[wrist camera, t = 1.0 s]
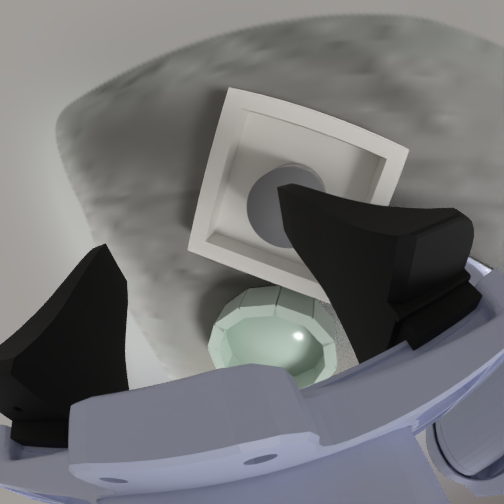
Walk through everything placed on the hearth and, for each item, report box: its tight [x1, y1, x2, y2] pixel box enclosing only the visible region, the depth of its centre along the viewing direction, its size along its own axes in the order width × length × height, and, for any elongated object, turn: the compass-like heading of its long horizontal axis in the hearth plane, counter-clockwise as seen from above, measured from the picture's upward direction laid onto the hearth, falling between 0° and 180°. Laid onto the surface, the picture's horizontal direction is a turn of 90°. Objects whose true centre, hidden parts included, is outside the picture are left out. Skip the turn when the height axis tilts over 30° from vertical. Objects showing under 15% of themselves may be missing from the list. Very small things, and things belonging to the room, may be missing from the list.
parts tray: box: [188, 87, 409, 304], centre depth 19 cm, size 12×12×3 cm
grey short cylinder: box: [247, 163, 326, 248], centre depth 18 cm, size 5×5×4 cm
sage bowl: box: [208, 285, 337, 390], centre depth 24 cm, size 11×11×3 cm
